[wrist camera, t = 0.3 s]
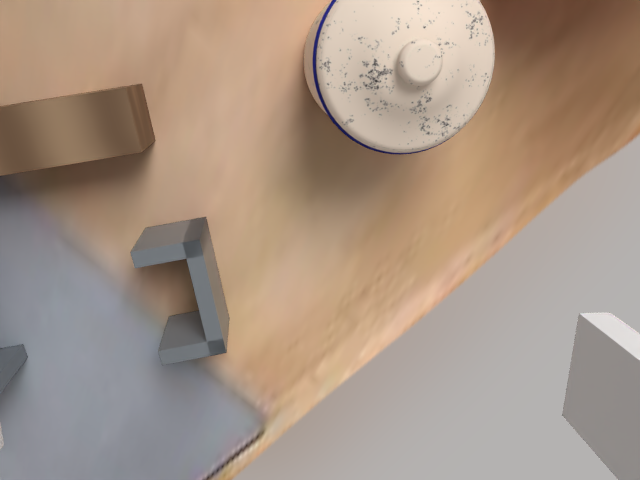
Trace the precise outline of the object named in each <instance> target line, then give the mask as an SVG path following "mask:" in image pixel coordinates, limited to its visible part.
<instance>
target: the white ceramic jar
mask: <svg viewBox="0 0 640 480" xmlns="http://www.w3.org/2000/svg"><path fill="white" fill-rule="evenodd" d="M494 60H495V45H494V37H493V32H492V28H491V24H490V21H489V18H488V16H487V14H486V11H485V9H484V7H483V6H482V4H481V2H480V0H332V1H331V2H330V3H329V4H327V5H326V6H325V7H324V9H323V10H322V11H321V12H320V13H319V15H318V16H317V18H316V19H315V21H314V22H313V24H312V26H311V28H310V31H309V33H308V36H307V39H306V43H305V49H304V72H305V77H306V81H307V84H308V87H309V90H310V92H311V94H312V96H313V98H314V99H315V101H316V102H317V104H318V105H319V106H320V108H321V109H322V110H323V111H324V112H325V113H326V114H327V115H328V116H329V117H330V119H331V120H332V121H333V123H334V124H335V125H336V126H337V127H338V128H339V129H340V130H341V131H342V132H343V133H344V134H345V135H346V136H348V137H349V138H350V139H352V140H353V141H355V142H356V143H358V144H360V145H362V146H364V147H366V148H369V149H371V150H374V151H378V152H382V153H388V154H411V153H417V152H421V151H425V150H428V149H431V148H433V147H435V146H437V145H440V144H442V143H443V142H445V141H447V140H448V139H450V138H451V137H452V136H454V135H455V134H456V133H458V132H459V131H460V130H461V129H462V128H463V127H464V126H465V125H466V124H467V123H468V122H469V121H470V120H471V118H472V117H473V116H474V115H475V113H476V112H477V110H478V109H479V107H480V106H481V104H482V102H483V100H484V98H485V96H486V94H487V91H488V89H489V86H490V82H491V79H492V75H493V69H494Z"/></svg>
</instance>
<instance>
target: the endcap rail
mask: <svg viewBox="0 0 640 480" xmlns="http://www.w3.org/2000/svg"><path fill="white" fill-rule="evenodd" d="M131 256H132V260H133V263H134V267H135V268H139V267H145V266H150V265H155V264H161V263H166V262H171V261H177V260H182V259H187V263H188V267H189V271H190V275H191V280H192V284H193V288H194V292H195V296H196V300H197V304H198V308H199V311H194V312H189V313H184V314H179V315H174V316H169V318H168V322H167V325H166V328H165V331H164V334H163V337H162V341H161V344H160V347H159V350H158V353H159V356H160V360H161V363H162V365H167V364H172V363H177V362H182V361H187V360H192V359H197V358H202V357H208V356H213V355H218V354H223V353H226V352H227V340H228V328H229V314H228V310H227V306H226V301H225V297H224V293H223V288H222V284H221V280H220V275H219V271H218V267H217V262H216V258H215V254H214V249H213V245H212V241H211V236H210V232H209V228H208V223H207V219H206V217H202V218H197V219H191V220H186V221H180V222H175V223H169V224H164V225H159V226H153V227H148V228H145V230H144V231H143V233H142V234H141V236H140V238H139V239H138V241H137V243H136V244H135V246H134V247H133V249H132V251H131ZM27 357H28V356H27V354H26V351H25V348H24V345H23V344H22V345H17V346H12V347H7V348H1V349H0V394H1V392H2V391H3V390H4V388H5V387H6V386H7V384H8V383H9V382H10V380H11V379H12V378H13V376H14V375H15V374H16V372H17V371H18V370H19V368H20V367H21V366H22V364H23V363H24V361H25V360H26V359H27Z"/></svg>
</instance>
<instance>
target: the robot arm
mask: <svg viewBox="0 0 640 480" xmlns="http://www.w3.org/2000/svg"><path fill="white" fill-rule="evenodd" d="M562 416H563V417H564V418H565V419H566V420H567V421H568V422H569V424H570V425H571V426H572V427H573V428H574V429H575V430H576V432H577V433H578V434H579V435H580V436H581V437H582V438H583V440H584V441H585V442H586V443H587V444H588V445H589V447H590V448H591V449H592V450H593V451H594V452H595V454H596V455H597V456H598V457H599V458H600V459H601V460H602V462H603V463H604V464H605V465H606V466H607V467H608V468H609V470H610V471H611V472H612V473H613V474H614V475H615V476H616V478H617V479H618V480H640V333H638V332H637V331H635V330H634V329H632V328H631V327H630V326H628V325H627V324H625V323H624V322H622V321H621V320H620V319H618V318H617V317H616V316H614V315H613V314H611V313H610V312H604V313H579V316H578V322H577V328H576V334H575V341H574V347H573V353H572V359H571V365H570V371H569V378H568V383H567V389H566V395H565V401H564V407H563V414H562ZM3 445H4V442H3V436H2V430H1V424H0V450H1V449H2V447H3Z"/></svg>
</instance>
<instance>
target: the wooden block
mask: <svg viewBox="0 0 640 480" xmlns="http://www.w3.org/2000/svg"><path fill="white" fill-rule="evenodd" d="M154 141H155V136H154V132H153V128H152V124H151V120H150V116H149V111H148V107H147V103H146V99H145V95H144V90H143V86H142V84H137V85H131V86H124V87H118V88H112V89H106V90H99V91H93V92H87V93H80V94H74V95H68V96H61V97H55V98H49V99H43V100H36V101H30V102H24V103H17V104H11V105H5V106H0V176H2V175H9V174H15V173H21V172H27V171H33V170H39V169H45V168H51V167H57V166H63V165H69V164H75V163H81V162H87V161H93V160H99V159H105V158H111V157H117V156H123V155H129V154H135V153H141V152H143V151H144V150H145V149H146V148H147V147H149V146H150V145H151V144H152V143H153V142H154Z"/></svg>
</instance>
